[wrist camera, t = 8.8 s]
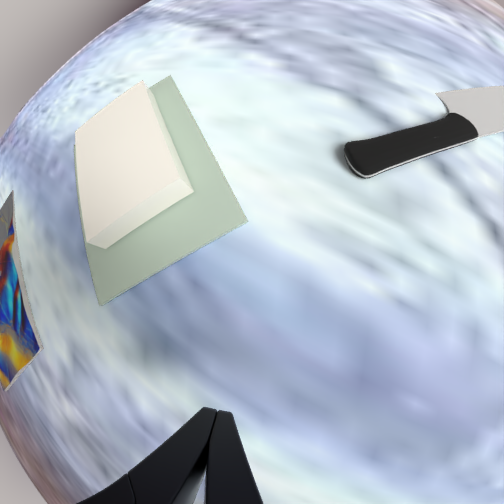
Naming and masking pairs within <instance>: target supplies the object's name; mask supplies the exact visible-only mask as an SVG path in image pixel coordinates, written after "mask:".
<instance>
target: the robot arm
mask: <svg viewBox="0 0 504 504" xmlns="http://www.w3.org/2000/svg"><path fill="white" fill-rule="evenodd" d="M205 471H206V478H205V494H204V504H263V501H262V499H261V496H260V493H259V491H258V488H257V485H256V483H255V480H254V477H253V474H252V472H251V469H250V466H249V463H248V460H247V457H246V454H245V451H244V448H243V445H242V442H241V439H240V436H239V433H238V430H237V427H236V424H235V420H234V417H233V414H232V413H231V412H227V411H222V410H219V411H218V412H217V410H216V409H212V408H208V407H203V408H202V409H201V410H199V411H198V412H197V413H196V414H195V415H194V416H193V417H192V418H191V419H190V420H189V421H188V422H186V423H185V424H184V425H183V426H182V427H181V428H180V429H179V430H178V431H176V432H175V433H174V434H173V435H172V436H171V437H170V438H169V439H167V440H166V441H165V442H164V443H163V444H162V445H160V446H159V447H158V448H157V449H156V450H155V451H153V452H152V453H151V454H150V455H149V456H147V457H146V458H145V459H144V460H142V461H141V462H140V463H139V464H138V465H136V466H135V467H134V468H133V469H131V470H130V471H129V472H128V474H125V475H123V476H122V477H121V478H119V479H118V480H117V481H115V482H114V483H113V484H111V485H110V486H108V487H107V488H105V489H104V490H102V491H100V492H98V493H97V494H95V495H93V496H91V497H89V498H87V499H85V500H83V501H81V502H79V503H77V504H193V502H194V500H195V497H196V495H197V492H198V490H199V487H200V485H201V482H202V480H203V477H204V474H205Z"/></svg>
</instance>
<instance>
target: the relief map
mask: <svg viewBox="0 0 504 504" xmlns="http://www.w3.org/2000/svg"><path fill="white" fill-rule="evenodd" d="M42 349H43V346H42V343H41V340H40V337H39V334H38V331H37V328H36V324H35V321H34V318H33V314H32V311H31V307H30V303H29V299H28V295H27V291H26V287H25V282H24V277H23V272H22V267H21V261H20V255H19V249H18V241H17V233H16V223H15V210H14V191H13V190H12V192H11V193H10V195H9V197H8V198H7V200H6V201H5V203H4V205H3V206H2V208H1V210H0V382H1V385H2V388H3V390H4V391H8V389H9V388H10V387H11V386H12V384H13V383H14V382H15V381H16V380H17V378H18V377H19V376H20V375H21V374H22V372H23V371H24V370H25V369H26V368H27V366H28V365H29V364H30V363H31V362H32V361H33V360H34V358H35V357H36V356H37V355H38V354H39V353H40V352H41V351H42Z"/></svg>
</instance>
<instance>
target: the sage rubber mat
mask: <svg viewBox="0 0 504 504" xmlns="http://www.w3.org/2000/svg"><path fill="white" fill-rule="evenodd" d="M149 89H150V90H151V92H152V93H153V95H154V97H155V100H156V102H157V105H158V107H159V110H160V112H161V115H162V117H163V119H164V122H165V124H166V127H167V129H168V132H169V134H170V136H171V139H172V141H173V144H174V146H175V148H176V151H177V153H178V156H179V158H180V160H181V163H182V165H183V167H184V170H185V172H186V174H187V177H188V179H189V181H190V184H191V186H192V188H193V190H194V192H193V193H191V194H189V195H188V196H186V197H184V198H183V199H181V200H179V201H178V202H176V203H175V204H173V205H171V206H170V207H168V208H167V209H165V210H163V211H162V212H160V213H159V214H157V215H156V216H154V217H152V218H151V219H149V220H148V221H146V222H145V223H143V224H142V225H140V226H139V227H137V228H136V229H134V230H133V231H131V232H130V233H128V234H127V235H125V236H124V237H122V238H121V239H120V240H118V241H117V242H115V243H114V244H112V245H111V246H110V247H108V248H107V249H104V248H101V247H98V246H95V245H92V244H90V243H87V242H86V236H85V230H84V225H83V218H82V211H81V204H80V196H79V187H78V177H77V164H76V145H74V160H75V175H76V186H77V196H78V204H79V212H80V219H81V225H82V231H83V237H84V243H85V248H86V253H87V258H88V262H89V267H90V271H91V276H92V280H93V284H94V288H95V291H96V295H97V299H98V302H99V306H102V305H104V304H106V303H107V302H109V301H111V300H112V299H114V298H116V297H117V296H119V295H121V294H122V293H124V292H126V291H127V290H129V289H131V288H132V287H134V286H136V285H137V284H139V283H141V282H143V281H144V280H146V279H148V278H149V277H151V276H153V275H154V274H156V273H158V272H160V271H161V270H163V269H165V268H167V267H168V266H170V265H172V264H174V263H175V262H177V261H179V260H180V259H182V258H184V257H186V256H188V255H189V254H191V253H193V252H195V251H196V250H198V249H200V248H202V247H203V246H205V245H207V244H209V243H211V242H212V241H214V240H216V239H218V238H220V237H221V236H223V235H225V234H227V233H229V232H230V231H232V230H234V229H236V228H238V227H240V226H241V225H243V224H245V223H247V222H248V220H247V218H246V216H245V215H244V213H243V211H242V209H241V207H240V205H239V203H238V201H237V199H236V197H235V195H234V193H233V192H232V190H231V188H230V186H229V184H228V182H227V180H226V178H225V176H224V174H223V172H222V171H221V169H220V167H219V165H218V163H217V161H216V159H215V157H214V155H213V153H212V152H211V150H210V148H209V146H208V144H207V142H206V140H205V138H204V136H203V135H202V133H201V131H200V129H199V127H198V125H197V123H196V121H195V120H194V118H193V116H192V114H191V112H190V110H189V108H188V107H187V105H186V103H185V101H184V99H183V97H182V95H181V94H180V92H179V90H178V88H177V86H176V84H175V82H174V81H173V79H172V77H171V75H170V76H168V77H166V78H165V79H163V80H161V81H160V82H158V83H156V84H155V85H153V86H152V87H150V88H149Z"/></svg>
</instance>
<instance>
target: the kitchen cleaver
mask: <svg viewBox="0 0 504 504" xmlns="http://www.w3.org/2000/svg"><path fill="white" fill-rule="evenodd" d="M435 94H436V95H437V96H438V97H439V98H440V99H441V100H442V102H443V103H444V104H445V106H446V107H447V109H448V111H449V114H448V115H447V116H446V117H445V118H443V119H441V120H438V121H435V122H431V123H427V124H424V125H420V126H416V127H412V128H408V129H405V130H401V131H397V132H394V133H390V134H386V135H383V136H379V137H375V138H371V139H367V140H360V141H352V142H348V143H346V145H345V148H344V155H345V158H346V161H347V163H348V165H349V167H350V168H351V170H352V171H353V172H354V173H355V174H356V175H358V176H360V177H362V178H371V177H373V176H375V175H378V174H380V173H382V172H385V171H387V170H390V169H393V168H395V167H398V166H401V165H404V164H407V163H409V162H412V161H415V160H418V159H420V158H423V157H426V156H429V155H432V154H435V153H438V152H441V151H444V150H448V149H451V148H454V147H457V146H460V145H463V144H466V143H468V142H471V141H474V140H476V139H477V138H479V137H483V136H487V135H491V134H495V133H500V132H504V86H492V87H480V88H470V89H461V90H453V91H446V92H440V93H435Z"/></svg>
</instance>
